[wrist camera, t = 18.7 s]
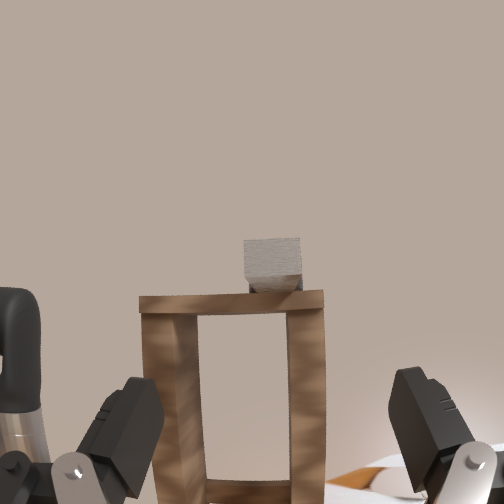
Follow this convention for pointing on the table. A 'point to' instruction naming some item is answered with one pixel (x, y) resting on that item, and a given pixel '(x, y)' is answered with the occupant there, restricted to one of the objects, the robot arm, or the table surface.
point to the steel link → (273, 265)
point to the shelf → (189, 400)
